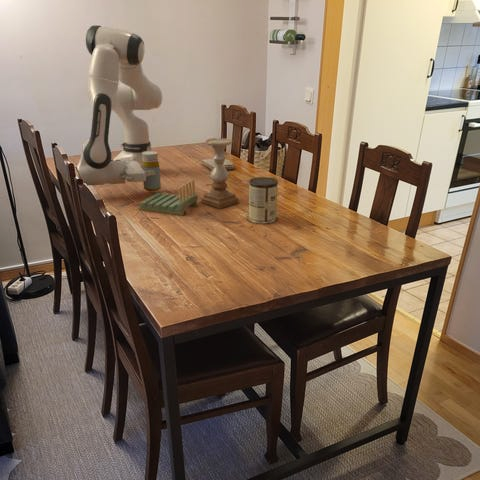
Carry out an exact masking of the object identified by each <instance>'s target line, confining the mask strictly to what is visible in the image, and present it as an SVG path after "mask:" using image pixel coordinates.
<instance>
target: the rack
mask: <svg viewBox="0 0 480 480" xmlns="http://www.w3.org/2000/svg"><path fill="white" fill-rule="evenodd" d="M189 206H190V207H197V206H198V194H197V193H196V187H195V179H191V180H189V181H188V182H185V184H182V185H181V186H179V187H178V194H177V195H176V194H173V193H171V194H170V193H166V192H164V193H163V192H156V193H154V194H153V195H151V196H149V197H148V198H146V199H144V200H142V201H140V204H139V207H140V208H139V209H140V210H141V211H149V212H155V213H161V214H170V215H177V216H184V215H185V209H186V208H188V207H189Z"/></svg>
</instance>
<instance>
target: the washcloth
mask: <svg viewBox="0 0 480 480" xmlns="http://www.w3.org/2000/svg"><path fill="white" fill-rule="evenodd" d="M200 162H201V164H202V165H203V166H205V167H207V168H208V169H209V170H211V171H212V170H213V168H214V166H215V162H214V160H213V158H205V159H204V158H203V159H202V160H201V161H200ZM224 167H225V169H226V171H229V170H230V171H231V170H234V169H235V167H234V163H233V162H232V161H231V160H229V159H227V158H226V159H225V161H224Z"/></svg>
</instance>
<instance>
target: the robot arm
mask: <svg viewBox="0 0 480 480" xmlns="http://www.w3.org/2000/svg"><path fill="white" fill-rule="evenodd" d="M85 46H86V49H87V51H88V53H89V55H91V57H90V61H89V66H88V71H87V73H88V74H87V95H88V99H89V102H90V105H91V111H92V112H91V113H92V114H91V115H92V116H91V128H90V137H89V138H88V137H87V138H86V139H85V141H84V142H83V145H82V149H81V155H80V158H79V160H78V163H77V164H76V166H75V167H74V168H76V169H75V170H76V172H77V175H78V179H80V178H81V179H82V180H83V181H84V183H86V184H87V185H86V186H104V185H107V184H110V185H119V184H122V185H123V184H126V182H128V183H142V182H143V183H144V181H146V177H147V176H150V175H155V170H148V171H146V170H145V171H144V170H143V168H142V162H143V158H142V152H145V151H152V143H151V141H150V130H149V125H148V123H147V122H146V121H145V120H144V119H142V118H140V117H138V116H137V115H135V113H134V111H151V110H155V109H159V108H160V107H161V105H162V103H163V92H162V90H161V88H160V87H159V86H158V85H157V84H156V83H154V82H152V81H151V80H149V78H148V77H147V76H146V75H145V73H144V69H143V64H142V62H143V59H144V56H145V50H146V49H145V42H144V40H143V38H142V37H141V36H140V35H138V34H135V33H132V32H131V31H129V30H125V29H119V28H113V27H108V26H102V25H96V24H95V25H91V26H89V28H88V29H87V31H86V34H85ZM112 112H114V113H115V114H116V116H117V117H118V118H119V120H120V122H121V125H122V128H123V133H124V140H125V141H124V142H123V143H121V144H120V148H122V150H121V151H120V152H119V153H118V154H117V155H116V156H114V158H113V159H112V151H111V147H110V144H109V136H110V135H109V134H110V123H111V115H112Z"/></svg>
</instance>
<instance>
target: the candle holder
mask: <svg viewBox="0 0 480 480" xmlns="http://www.w3.org/2000/svg"><path fill="white" fill-rule="evenodd" d="M205 144H206V145H208V146H211V147H212V149H213V152H214V154H213V155H212V159H213V160H214V162H215V166H214V168H213V170H211V171H210V174H209V178H210V180H211V181H212V183H211V188H212V189H211V190H210V191H209V192H207V193H204V194H203V196H202V197H201V198H200V203H201V204H204V205H207V206H210V207H214V208H216V209H224V208H226V207H229V206H233V205H235V204H238V203H239V197H237V196H236V194H235V193H232V192H230V191H229V190H227V188H228V184H227V181H228V180H229V177H230V176H229V172H228V170H226V169H225V167H224V161H225V159H227V157H226V155H225V154H224V153H225V149H226V148H227V146H230V145H232V144H233V140H232V139H230V138H226V137H225V138H224V137H212V138H208V139H206V140H205Z"/></svg>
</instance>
